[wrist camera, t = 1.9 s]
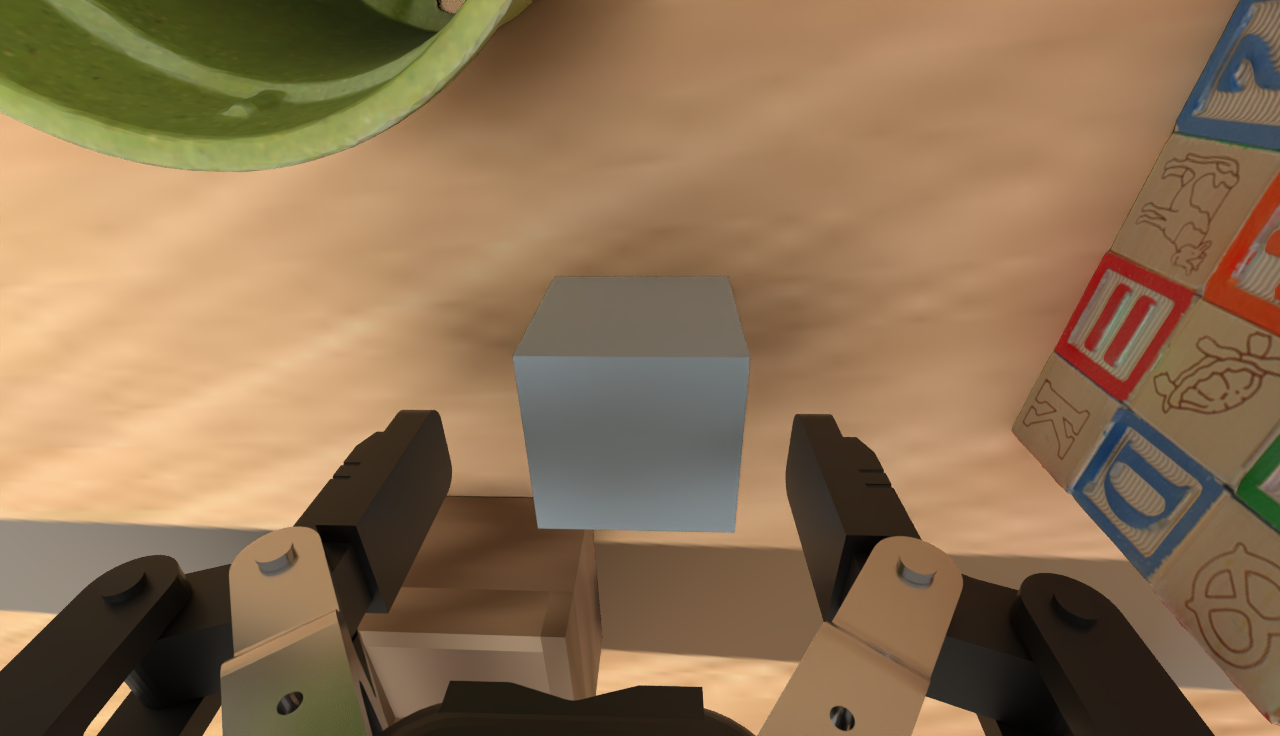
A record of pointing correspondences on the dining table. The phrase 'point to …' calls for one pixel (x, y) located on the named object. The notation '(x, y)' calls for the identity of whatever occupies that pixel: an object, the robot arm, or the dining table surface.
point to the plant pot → (231, 73)
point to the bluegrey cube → (634, 403)
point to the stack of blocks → (1189, 369)
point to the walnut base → (489, 609)
